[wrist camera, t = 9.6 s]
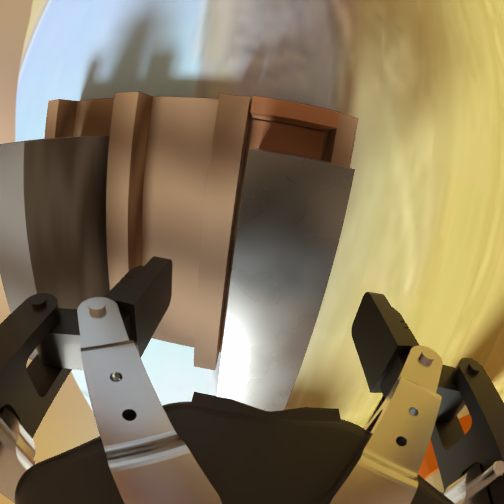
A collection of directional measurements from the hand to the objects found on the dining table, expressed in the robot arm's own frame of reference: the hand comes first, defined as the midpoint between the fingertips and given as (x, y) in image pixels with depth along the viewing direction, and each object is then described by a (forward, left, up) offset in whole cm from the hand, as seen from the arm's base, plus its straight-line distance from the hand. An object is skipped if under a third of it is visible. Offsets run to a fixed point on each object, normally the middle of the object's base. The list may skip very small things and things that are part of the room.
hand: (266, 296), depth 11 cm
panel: (0, 0, -6) cm, 6 cm away
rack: (0, -6, -8) cm, 10 cm away
